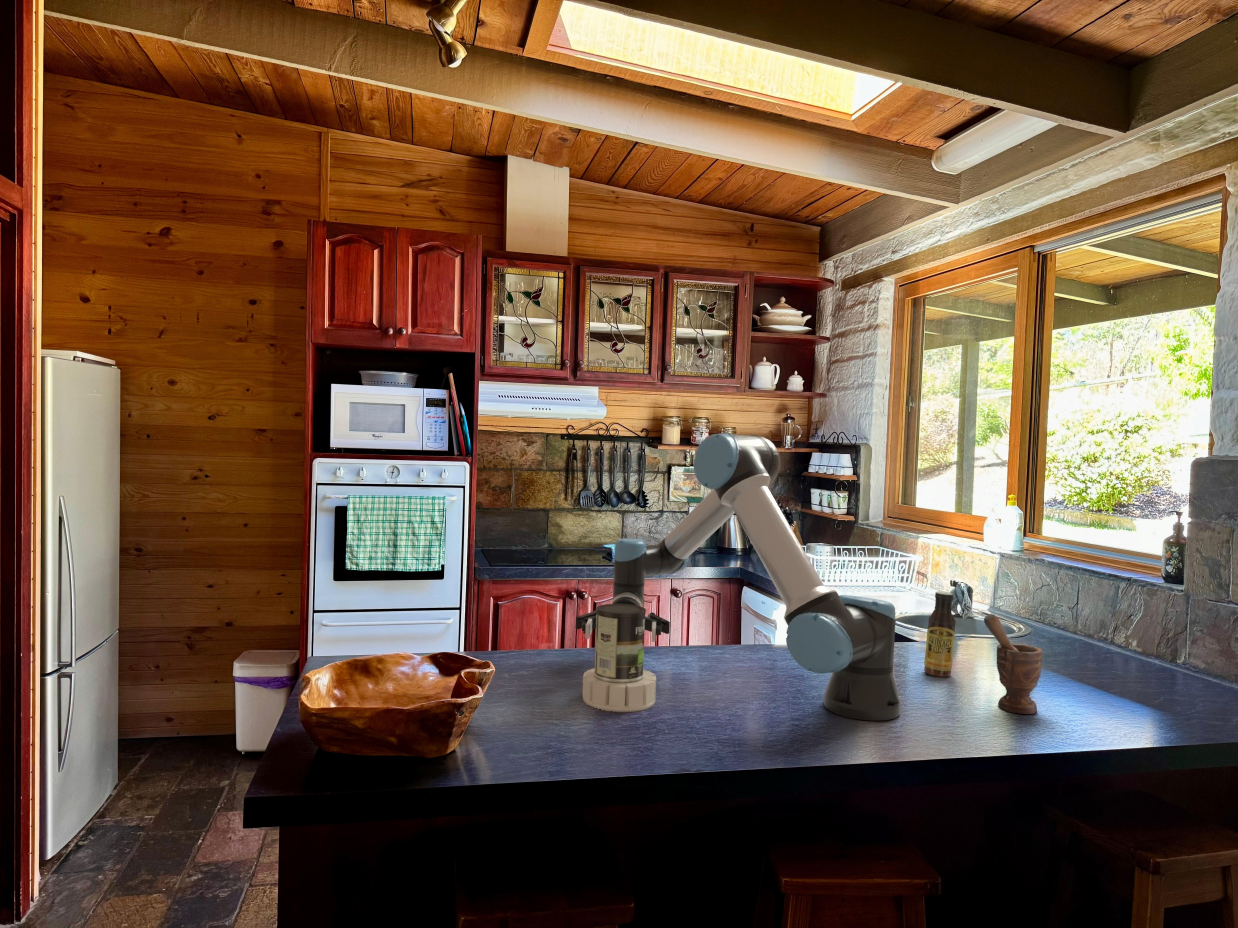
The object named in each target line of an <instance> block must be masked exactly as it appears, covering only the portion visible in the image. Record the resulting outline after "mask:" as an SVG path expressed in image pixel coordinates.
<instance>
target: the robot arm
mask: <svg viewBox="0 0 1238 928" xmlns="http://www.w3.org/2000/svg"><path fill="white" fill-rule="evenodd" d="M694 454H695V458H694V459H693V471H694V475H695V478H696V480H697V482H698V483H699V484H700V485H702V487H704V488H707V489H709V490H711V491H710V492H709V493H708V494H707V495H706V496H705V497H704V498H703V499H702V500H701V501H700V502H699V503H698V504H697V505H696V506H694V508H693V509H692V510H691V511H690V512H689V513H688V514H687V515H686V516H685V517H684V518H683V519H682V520H681V521H680V522H679V523H678V524H677V525H676V526H675V527H674V528H673V529H672V530H671V531H670V532H669V533H668V534H666V536H665V537H664V538H663V539H662V540H661V541H660V542H658V543H657V544H649V545H647V544H646V541H645V540H644V539H640V538H630V537H629V538H619V539H617V540H616V542H615V543H614V544H615V545H614V554H613V585H612V602H611V604H631V605H637V606H641V607H643V608H645V577H653V576H659V575H666V574H667V575H672V574H676V573H679V572H682V571H683V570H685V569H686V567H687V566H688V562H689V559H690V558H689V557H690V556H691V555H692V554H693V553H695V551H696V550H697V549H699V547H700V546H701V545H703V544H704V543H705V542H706V540H707V539H709V538H710V537H711V536H712V535H713V534H714V533H715V532H716V531H717V530H718V529H720V527H722V526H723V525H724V524H725V523H726V522H727V521H728V520H729V519H730V518H731V517H732V516H733V515H736V517H737V519H738V521H739V523H740V525H741V527H742V529H743V530H744V533H746V535H747V537H748V539H749V541H750V542H751V544H752V547H753V548H754V550H755V552H756V554H757V556H758V557H759V560H760V561H761V563H762V565H763V567H764V568H765V570H766V572H767V574H768V576H769V578H770V579H771V581H772V583H773V585H774V587H775V589H776V590H777V593H778V594H779V596H780V597H781V599H782V601H783V603H784V605H785V608H786V609H785V612H784V615H783V618H784V619H783V620H784V621H785V624H787V628H786V638H785V643H786V647H787V649H788V652H789V654H790V656H791V657H792V658H793V660H794V661H795V662H796V663H797V664H798V665H799V666H800V667H801V668H803V669H805V670H806V671H808V672H812V673H814V674H829V673H831V676H830V678H829V680H828V683H827V686H826V687H825V691H824V694H823V706H824V707H825V708H826V709H827V710H828V711H830V712H832V713H834V714H837V715H839V716H842V717H845V718H850V719H856V720H862V721H873V722H874V721H876V722H877V721H878V722H879V721H889V720H893V719H896V718H898V717H899V716H900V715H901V700H900V696H899V693H898V690H897V686H896V682H895V678H894V654H895V635H896V623H897V619H896V608H895V605H894V604H893V603H892V602H891V601H888V600H887V601H886V600H882V599H877V598H873V597H867V596H866V597H865V596H859V595H858V596H857V595H850V594H849V595H848V594H840V595H839V593H838V592H837V591H836V589H832V588H829V587H826V586H825V584H824V583H823V582H822V580H821V577H820V576H819V574H818V573H817V571H816V569H815V566H813V564H812V562H811V560H810V558H809V556H808V555H807V553H806V551H805V549H804V547H803V546H802V545H801V543H800V542H799V539H798V537H797V536H796V534H795V533H794V531H793V529H792V527H791V526H790V524H789V522H788V520H787V518H786V517H785V515H784V514H783V512H782V510H781V508H780V506H779V504H778V502H777V501H776V499H775V497H774V496H773V494H772V493H771V490H770V489H769V487H770V486H771V485H772V484H773V483H774V481H775V480H776V478H777V477H778V474H779V473H780V468H781V457H780V453H779V451H778V449H777V447H776V445H775V444H774V442H772V441H771V440H769V439H768V438H766V437H764V436H762V435H758V434H735V433H734V434H732V433H728V432H723V433H714V434H711V435H709V436H706V437H705V438H704V439H703V440H702V441H701V442H700V444H699V445H698V446H697V448H696V451H695V453H694ZM596 616H597V612H596V609H594V610H593V611H591V612H588V613H584V614H582V615H578V616H575V623H574V624H575V629H576V630H581V631H582V633H583V634H584V635H585V636H584V637H585V639H590V637H591V635H592V632H593V630H596ZM670 629H671V622H670V621H669V620H667V619H665V618H663V617H660V616H659V615H657V613H655V612H649V613H648V614H647V615H645V631H648V632H650V633H651V639H650V640H651V642H652V643H656V637H657V636H661V635H662V633H663V634H666V635H669V634H670V631H671V630H670Z"/></svg>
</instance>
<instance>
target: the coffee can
mask: <svg viewBox="0 0 1238 928" xmlns="http://www.w3.org/2000/svg"><path fill="white" fill-rule="evenodd" d="M595 610H596V612H597V616H596V629H595V655H594V668H595V673H594V676H595V677H596V678H598V679H600V680H603V681H607V682H615V683H628V682H635V681H639V680H641V679H642V678H643V669H644V660H645V659H644V658H645V657H644V653H645V631H646V630H645V616H646V612H647V609H646V608H645V607H644V608H643V607H641V606H637V605H631V604H612V603H605V604H601V605H600V604H599V605H598V606H596V607H595Z"/></svg>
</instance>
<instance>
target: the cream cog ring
mask: <svg viewBox="0 0 1238 928" xmlns="http://www.w3.org/2000/svg"><path fill="white" fill-rule="evenodd" d="M594 673H595V667H593V668H591V669H588V670H586V671H584V673H583V676H582V692H581V693H582V702H583V701H584V702H585V703H586V705H587V706H588V705H589V707H590V706H591V708H593V707H594V709H596V708H597V709H596V710H599V709H601V710H600V711H604V710H605V712H611V711H612V713H631V712H632V713H633V712H634V713H635V712H640V711H644V710H648V709H650V708H652V707H653V706H654V705H656V697H657V696H656V695H657V675H656V674H655V673H653V672H651V671H650V670H646V669H644V668H643V678H642V679H641V680H639V681H635V682H628V683H615V682H607V681H603V680H600V679H598V678H596V677H595V676H594ZM584 702H583V703H584ZM585 703H584V704H585Z"/></svg>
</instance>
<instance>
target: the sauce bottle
mask: <svg viewBox="0 0 1238 928" xmlns="http://www.w3.org/2000/svg"><path fill="white" fill-rule="evenodd" d="M934 593H935V594H934V597H935V598H934V599H935V601H934V603H935V604H934V610H933V611H932V613H931V614H930V616H929V617H928V624H927V629H926V631H927V632H926V640H925V642H926V643H925V649H924V650H925V651H924V652H925V653H924V664H923V666H924V668H923V671H924V672H925V673H926V675H930V676H932V677H941V678H947V677H950V676H951V674H952V670H953V669H952V668H953V661H954V660H953V659H954V658H953V657H954V648H955V637H956V633H955V632H956V619H955V618H954V617H955V616H954V615H953V613H952V606H953V604H952V603H953V600H954V593H953V592H952V593H951V592H948V591H936V592H934Z"/></svg>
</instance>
